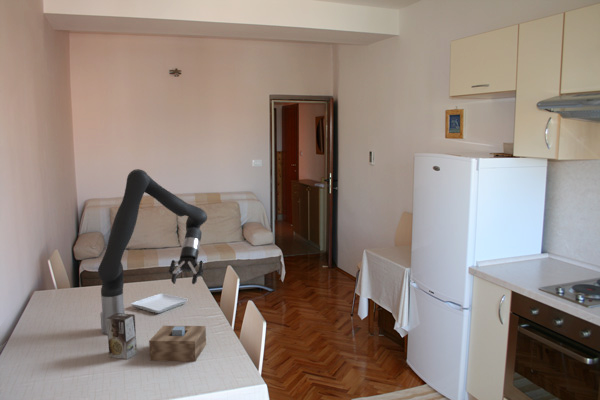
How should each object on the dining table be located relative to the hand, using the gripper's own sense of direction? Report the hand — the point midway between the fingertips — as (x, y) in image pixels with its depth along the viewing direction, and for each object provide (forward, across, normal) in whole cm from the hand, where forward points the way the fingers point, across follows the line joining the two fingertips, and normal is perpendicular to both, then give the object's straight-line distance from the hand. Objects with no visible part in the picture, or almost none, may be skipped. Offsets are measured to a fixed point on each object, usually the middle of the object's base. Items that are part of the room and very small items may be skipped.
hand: (183, 283), depth 207 cm
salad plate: (-9, -27, +49) cm, 57 cm away
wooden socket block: (+27, +2, +7) cm, 28 cm away
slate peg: (+27, +2, +7) cm, 28 cm away
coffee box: (+30, -20, +5) cm, 36 cm away
